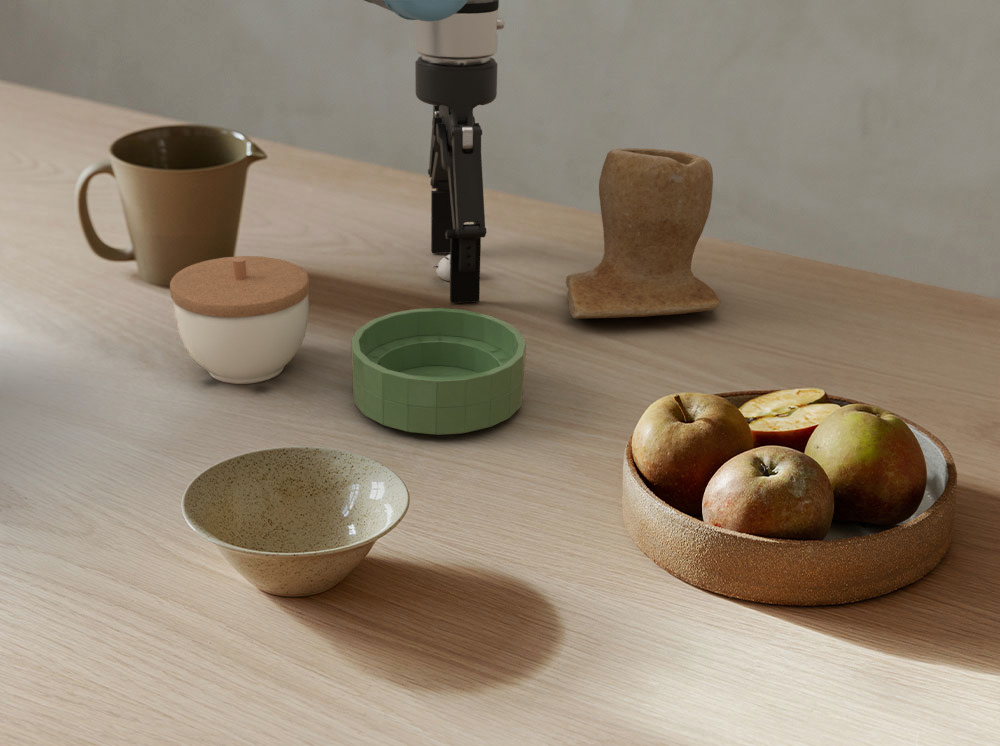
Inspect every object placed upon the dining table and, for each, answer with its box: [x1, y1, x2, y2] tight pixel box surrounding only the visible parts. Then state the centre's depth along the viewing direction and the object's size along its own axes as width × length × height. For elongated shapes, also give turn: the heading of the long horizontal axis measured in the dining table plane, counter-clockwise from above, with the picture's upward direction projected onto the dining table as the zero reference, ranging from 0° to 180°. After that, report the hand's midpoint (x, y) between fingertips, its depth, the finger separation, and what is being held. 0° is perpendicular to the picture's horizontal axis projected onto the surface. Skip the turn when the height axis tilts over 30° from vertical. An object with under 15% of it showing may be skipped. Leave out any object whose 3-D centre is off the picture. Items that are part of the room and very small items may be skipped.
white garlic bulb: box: [432, 253, 450, 282], centre depth 110 cm, size 3×4×3 cm
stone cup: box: [565, 147, 721, 319], centre depth 102 cm, size 15×12×15 cm
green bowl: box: [350, 307, 527, 436], centre depth 85 cm, size 13×13×5 cm
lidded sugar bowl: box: [169, 255, 311, 385], centre depth 88 cm, size 11×11×9 cm
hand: (453, 275), depth 110 cm, fingers open, 13 cm apart
